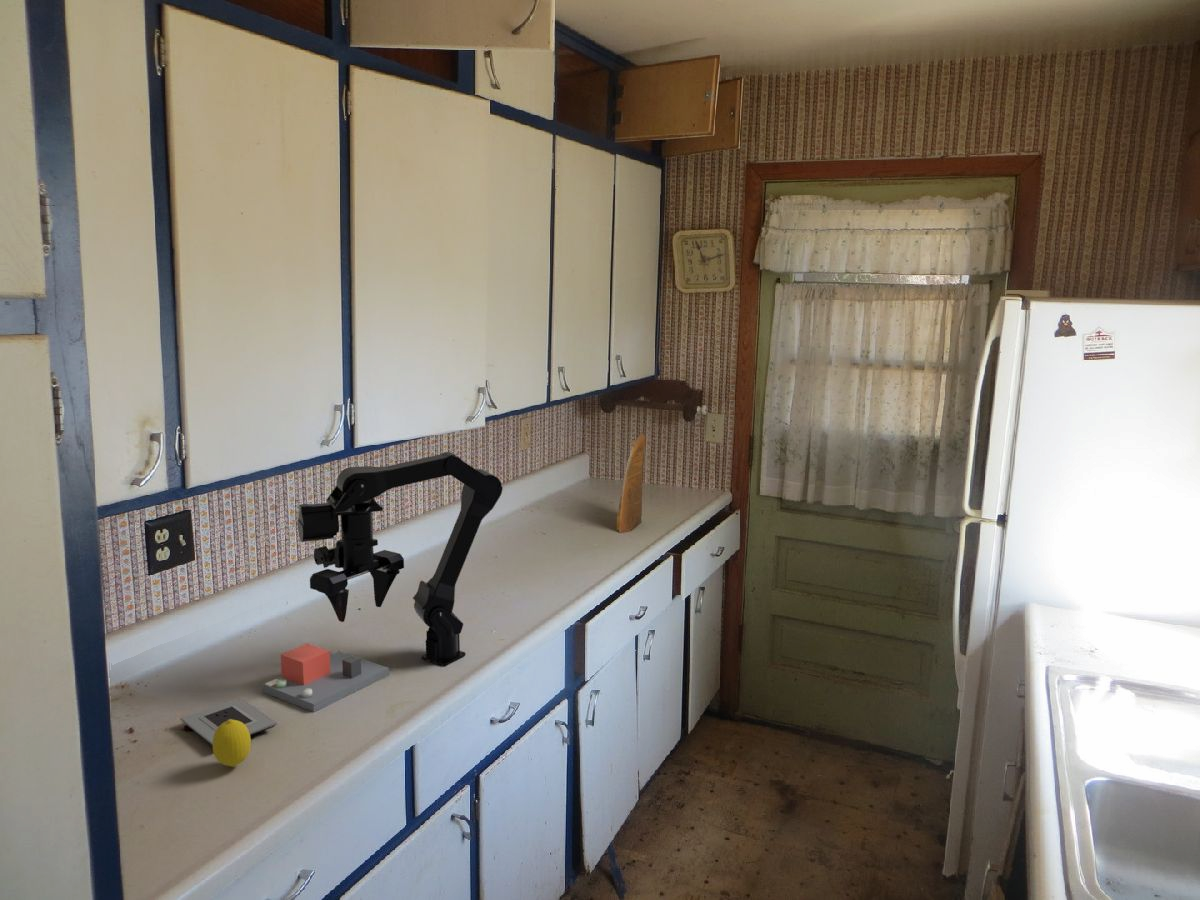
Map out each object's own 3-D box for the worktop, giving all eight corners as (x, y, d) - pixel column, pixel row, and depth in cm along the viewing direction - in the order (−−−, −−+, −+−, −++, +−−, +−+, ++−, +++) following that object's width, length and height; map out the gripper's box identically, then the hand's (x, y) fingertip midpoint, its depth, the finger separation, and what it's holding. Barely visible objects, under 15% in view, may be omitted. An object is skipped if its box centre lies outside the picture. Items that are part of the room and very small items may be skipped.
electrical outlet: (277, 733, 153) (276, 720, 153) (216, 757, 146) (215, 743, 145) (241, 708, 162) (240, 695, 162) (181, 729, 155) (180, 716, 154)
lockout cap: (308, 665, 175) (307, 643, 175) (330, 673, 172) (329, 650, 171) (281, 677, 170) (280, 654, 169) (304, 685, 167) (302, 662, 166)
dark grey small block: (352, 670, 173) (352, 655, 173) (361, 673, 172) (360, 658, 171) (342, 674, 171) (342, 659, 171) (351, 678, 170) (351, 663, 169)
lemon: (207, 774, 140) (203, 726, 139) (227, 756, 145) (223, 709, 144) (240, 778, 139) (236, 730, 138) (259, 759, 145) (256, 712, 143)
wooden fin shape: (650, 519, 287) (652, 432, 281) (632, 535, 269) (633, 442, 264) (630, 517, 289) (631, 430, 283) (610, 533, 271) (611, 441, 266)
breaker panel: (339, 658, 182) (338, 646, 182) (389, 675, 175) (388, 663, 174) (262, 691, 168) (262, 679, 167) (313, 712, 160) (313, 698, 160)
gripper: (364, 517, 183) (367, 591, 186) (287, 539, 167) (292, 620, 170) (404, 526, 177) (407, 602, 180) (329, 550, 161) (333, 633, 164)
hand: (360, 613), depth 174 cm, fingers open, 9 cm apart
